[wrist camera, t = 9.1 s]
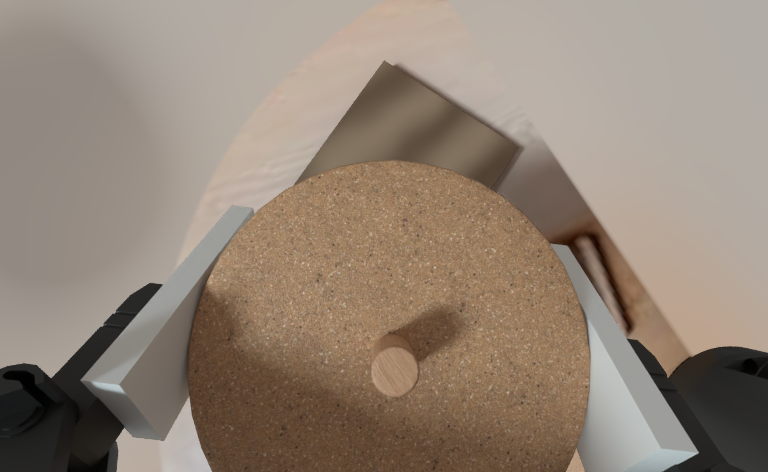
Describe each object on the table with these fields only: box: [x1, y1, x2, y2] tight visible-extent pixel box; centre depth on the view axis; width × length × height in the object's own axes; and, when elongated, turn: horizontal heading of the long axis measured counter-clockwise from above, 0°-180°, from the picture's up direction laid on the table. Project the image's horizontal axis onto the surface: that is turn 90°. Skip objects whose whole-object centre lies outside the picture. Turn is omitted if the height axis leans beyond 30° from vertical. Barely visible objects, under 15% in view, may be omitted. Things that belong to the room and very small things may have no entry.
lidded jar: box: [188, 160, 590, 472], centre depth 11 cm, size 11×11×9 cm
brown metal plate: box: [294, 61, 519, 189], centre depth 30 cm, size 15×15×2 cm
